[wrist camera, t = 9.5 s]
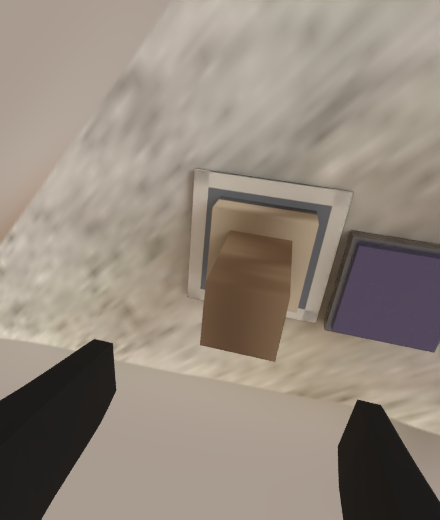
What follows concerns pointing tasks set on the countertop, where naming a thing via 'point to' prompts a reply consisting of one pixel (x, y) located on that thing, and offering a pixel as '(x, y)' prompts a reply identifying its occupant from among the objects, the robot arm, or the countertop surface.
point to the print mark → (279, 193)
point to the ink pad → (388, 291)
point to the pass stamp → (254, 274)
